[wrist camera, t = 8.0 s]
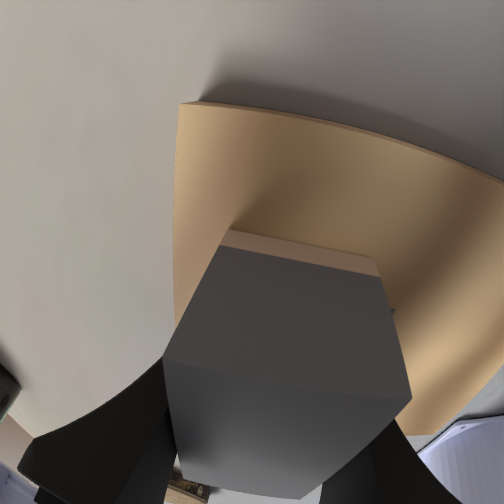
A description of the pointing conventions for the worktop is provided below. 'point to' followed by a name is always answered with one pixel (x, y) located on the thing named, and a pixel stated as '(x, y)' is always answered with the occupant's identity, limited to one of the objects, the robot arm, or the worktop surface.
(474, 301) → the oak board
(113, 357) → the worktop surface
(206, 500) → the wood log slice
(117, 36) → the worktop surface
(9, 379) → the supplement bottle
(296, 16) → the worktop surface
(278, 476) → the block
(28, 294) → the worktop surface
